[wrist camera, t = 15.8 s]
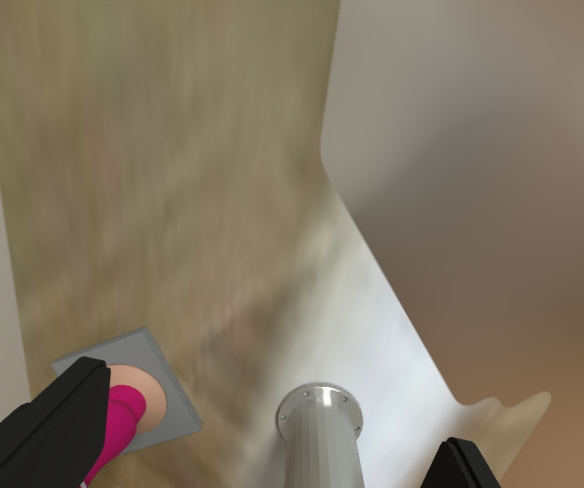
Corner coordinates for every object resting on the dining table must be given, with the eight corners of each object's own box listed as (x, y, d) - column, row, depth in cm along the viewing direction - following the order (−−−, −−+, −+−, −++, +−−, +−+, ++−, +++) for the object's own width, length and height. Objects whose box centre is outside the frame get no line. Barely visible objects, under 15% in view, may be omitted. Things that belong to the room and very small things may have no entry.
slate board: (202, 423, 49) (198, 434, 47) (119, 448, 51) (112, 460, 49) (146, 326, 45) (139, 334, 43) (58, 358, 47) (47, 367, 45)
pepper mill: (122, 429, 48) (0, 617, 28) (90, 394, 46) (-63, 568, 27) (160, 409, 46) (58, 592, 27) (128, 373, 45) (-4, 539, 26)
